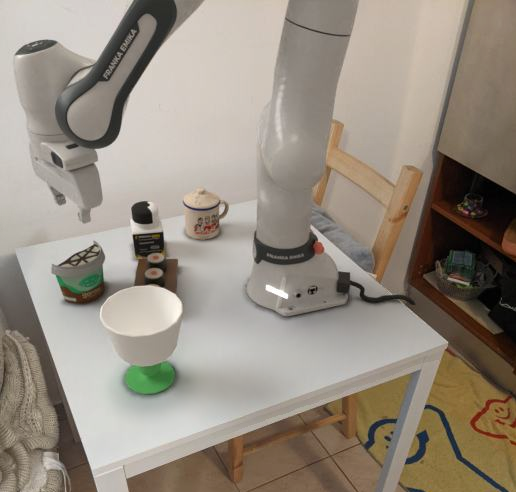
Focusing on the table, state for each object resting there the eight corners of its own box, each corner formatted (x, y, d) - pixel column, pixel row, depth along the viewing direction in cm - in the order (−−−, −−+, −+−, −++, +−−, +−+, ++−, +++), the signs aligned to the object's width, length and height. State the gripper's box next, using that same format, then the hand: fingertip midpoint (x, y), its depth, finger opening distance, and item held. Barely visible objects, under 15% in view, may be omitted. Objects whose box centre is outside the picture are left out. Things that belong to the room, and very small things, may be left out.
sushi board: (178, 265, 129) (177, 247, 126) (174, 319, 115) (172, 300, 111) (139, 266, 129) (137, 247, 125) (130, 320, 114) (127, 301, 111)
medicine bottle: (135, 259, 131) (129, 214, 123) (133, 243, 136) (127, 199, 128) (165, 256, 132) (161, 211, 124) (162, 241, 137) (158, 196, 129)
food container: (80, 315, 115) (70, 275, 108) (59, 304, 117) (49, 264, 110) (122, 287, 122) (116, 248, 116) (102, 277, 125) (95, 239, 118)
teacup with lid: (194, 244, 137) (192, 200, 129) (178, 227, 142) (176, 185, 135) (236, 232, 142) (237, 190, 134) (220, 217, 147) (219, 175, 140)
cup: (196, 394, 99) (192, 326, 89) (118, 412, 95) (105, 343, 85) (178, 345, 109) (173, 279, 98) (107, 359, 105) (94, 292, 94)
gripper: (14, 130, 103) (32, 198, 112) (69, 165, 92) (85, 238, 101) (45, 122, 106) (61, 189, 115) (102, 155, 95) (114, 226, 105)
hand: (72, 212), depth 108 cm, fingers open, 8 cm apart
